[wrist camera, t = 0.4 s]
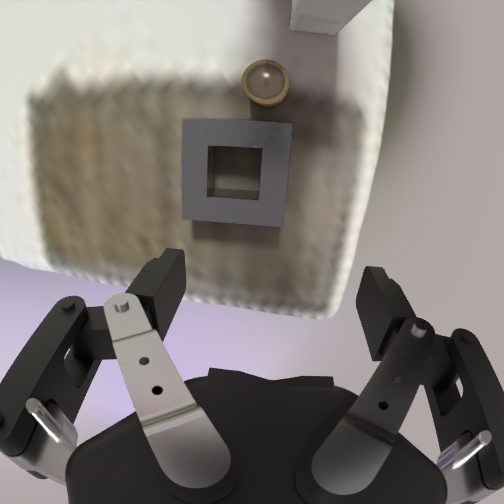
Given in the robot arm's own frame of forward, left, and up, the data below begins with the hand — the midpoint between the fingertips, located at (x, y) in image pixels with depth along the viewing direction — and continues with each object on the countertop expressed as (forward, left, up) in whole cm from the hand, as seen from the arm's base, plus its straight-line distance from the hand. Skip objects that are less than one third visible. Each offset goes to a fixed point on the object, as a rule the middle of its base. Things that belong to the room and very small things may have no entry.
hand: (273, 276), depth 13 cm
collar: (0, -5, -25) cm, 25 cm away
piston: (-10, -2, -25) cm, 27 cm away
